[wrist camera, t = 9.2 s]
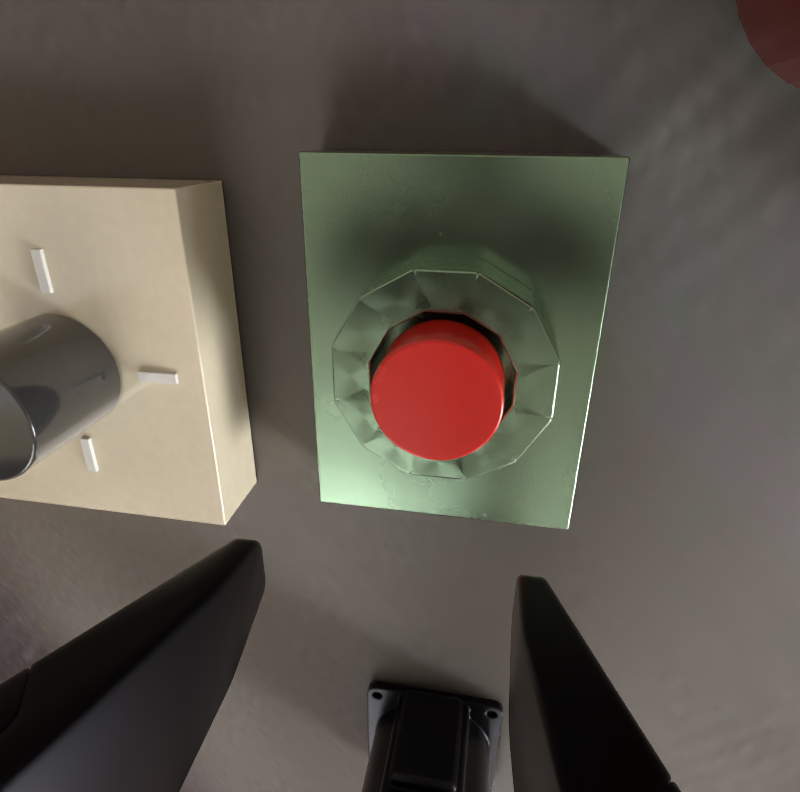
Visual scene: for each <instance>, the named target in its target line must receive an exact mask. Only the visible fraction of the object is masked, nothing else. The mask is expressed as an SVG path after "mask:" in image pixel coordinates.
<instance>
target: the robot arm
mask: <svg viewBox="0 0 800 792" xmlns="http://www.w3.org/2000/svg"><path fill="white" fill-rule="evenodd" d="M264 588H265V572H264V564H263V555H262V548H261V545H260V543H259V542H257V541H254V540H246V539H234V540H232V541H230V542H229V543H227V544H225V545H224V546H222V547H221V548H219V549H217V550H216V551H214V552H213V553H211V554H209V555H208V556H206V557H205V558H203V559H201V560H200V561H198V562H197V563H195V564H193V565H192V566H190V567H189V568H187V569H185V570H184V571H182V572H180V573H179V574H177V575H176V576H174V577H172V578H171V579H169V580H168V581H166V582H164V583H163V584H161V585H160V586H158V587H156V588H155V589H153V590H152V591H150V592H148V593H147V594H145V595H144V596H142V597H140V598H139V599H137V600H135V601H134V602H132V603H131V604H129V605H127V606H126V607H124V608H123V609H121V610H119V611H118V612H116V613H115V614H113V615H111V616H110V617H108V618H107V619H105V620H103V621H102V622H100V623H99V624H97V625H95V626H94V627H92V628H90V629H89V630H87V631H86V632H84V633H82V634H81V635H79V636H78V637H76V638H74V639H73V640H71V641H70V642H68V643H66V644H65V645H63V646H62V647H60V648H58V649H57V650H55V651H54V652H52V653H50V654H49V655H47V656H45V657H44V658H42V659H41V660H39V661H37V662H36V663H34V664H33V665H32V666H31V669H28V668H27V669H24V670H23V671H21V672H19V673H18V674H16V675H15V676H13V677H11V678H10V679H8V680H7V681H5V682H3V683H2V684H0V792H179V791H180V789H181V787H182V784H183V782H184V780H185V778H186V776H187V774H188V772H189V770H190V768H191V766H192V764H193V762H194V759H195V757H196V755H197V753H198V751H199V749H200V747H201V745H202V743H203V741H204V739H205V737H206V734H207V732H208V730H209V728H210V726H211V724H212V722H213V720H214V718H215V716H216V714H217V712H218V709H219V707H220V705H221V703H222V701H223V699H224V697H225V695H226V693H227V690H228V688H229V686H230V684H231V681H232V679H233V676H234V674H235V671H236V669H237V666H238V663H239V660H240V658H241V655H242V652H243V649H244V646H245V644H246V641H247V638H248V635H249V632H250V630H251V627H252V624H253V621H254V618H255V615H256V613H257V610H258V607H259V604H260V601H261V599H262V596H263V593H264ZM367 705H368V749H369V762H368V766H367V771H366V775H365V780H364V784H363V789H362V792H491V791H492V790H493V788H494V780H495V772H496V764H497V756H498V749H499V741H500V733H501V725H502V717H503V707H502V705H501V704H500V703H499V702H498V701H495V700H490V699H484V698H478V697H472V696H466V695H460V694H453V693H447V692H441V691H435V690H429V689H423V688H417V687H410V686H404V685H398V684H392V683H386V682H380V681H374V682H372V683H371V684H370V685H369V689H368V693H367ZM509 736H510V750H511V762H512V774H513V785H514V792H681V791H680V789H679V788H678V786H677V785H676V783H674V782H670V781H671V776H670V774H669V773H668V771H667V769H666V768H665V766H664V765H663V763H662V762H661V760H660V758H659V757H658V755H657V754H656V752H655V751H654V749H653V747H652V746H651V744H650V743H649V741H648V740H647V738H646V736H645V735H644V733H643V732H642V730H641V729H640V727H639V725H638V724H637V722H636V721H635V719H634V718H633V716H632V714H631V713H630V711H629V710H628V708H627V707H626V705H625V703H624V702H623V700H622V699H621V697H620V696H619V694H618V692H617V691H616V689H615V688H614V686H613V685H612V683H611V681H610V680H609V678H608V677H607V675H606V673H605V672H604V670H603V669H602V667H601V666H600V664H599V662H598V661H597V659H596V658H595V656H594V655H593V653H592V651H591V650H590V648H589V647H588V645H587V644H586V642H585V640H584V639H583V637H582V636H581V634H580V633H579V631H578V629H577V628H576V626H575V625H574V623H573V622H572V620H571V618H570V617H569V615H568V614H567V612H566V611H565V609H564V607H563V606H562V604H561V603H560V601H559V600H558V598H557V596H556V595H555V593H554V592H553V590H552V589H551V587H550V585H549V584H548V582H547V581H546V580H545V579H544V578H542V577H536V576H528V575H520V576H518V578H517V582H516V589H515V597H514V605H513V613H512V625H511V656H510V689H509Z"/></svg>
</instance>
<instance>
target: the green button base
mask: <svg viewBox="0 0 800 792" xmlns="http://www.w3.org/2000/svg"><path fill="white" fill-rule="evenodd" d="M299 162H300V179H301V195H302V211H303V228H304V244H305V260H306V277H307V293H308V310H309V326H310V342H311V359H312V375H313V391H314V408H315V424H316V441H317V457H318V473H319V490H320V501H322V502H330V503H339V504H348V505H357V506H365V507H374V508H383V509H392V510H400V511H409V512H418V513H427V514H435V515H444V516H453V517H462V518H470V519H479V520H488V521H497V522H505V523H514V524H523V525H532V526H540V527H549V528H558V529H568V528H569V522H570V516H571V510H572V504H573V498H574V492H575V486H576V480H577V474H578V468H579V462H580V456H581V450H582V444H583V438H584V432H585V426H586V420H587V414H588V408H589V402H590V396H591V390H592V384H593V378H594V372H595V366H596V360H597V354H598V348H599V342H600V336H601V330H602V324H603V318H604V312H605V306H606V300H607V294H608V288H609V282H610V276H611V270H612V264H613V258H614V252H615V246H616V240H617V234H618V228H619V222H620V216H621V210H622V204H623V198H624V192H625V186H626V180H627V174H628V168H629V162H630V157H626V156H622V155H617V154H572V153H506V152H440V151H374V150H314V151H303V152H299ZM431 320H450V321H455V322H459V323H463V324H465V325H468V326H470V327H472V328H473V329H475V330H477V331H478V332H480V333H481V334H482V335H484V336H485V337H486V338H487V339H488V340H489V341H490V342H491V344H492V345H493V346H494V347H495V349H496V351H497V352H498V354H499V356H500V359H501V361H502V364H503V368H504V375H505V383H504V410H503V416H502V419H501V422H500V424H499V426H498V428H497V430H496V432H495V433H494V434H493V436H492V437H491V438H490V439H489V440H488V441H487V443H485V444H484V445H483V446H482V447H480V448H479V449H477V450H476V451H474V452H472V453H470V454H468V455H466V456H463V457H460V458H456V459H451V460H430V459H424V458H421V457H417V456H415V455H412V454H410V453H408V452H406V451H404V450H402V449H401V448H399V447H398V446H396V445H395V444H394V443H393V442H392V441H390V440H389V439H388V438H387V436H386V435H385V434H384V433H383V432H382V430H381V429H380V427H379V425H378V424H377V422H376V420H375V417H374V415H373V412H372V407H371V401H370V389H371V384H372V380H373V377H374V374H375V372H376V370H377V368H378V366H379V365H380V363H381V361H382V359H383V357H384V356H385V354H386V352H387V350H388V349H389V347H390V345H391V344H392V343H393V341H394V340H395V339H396V338H397V337H398V336H399V335H400V334H401V333H403V332H404V331H405V330H407V329H408V328H410V327H412V326H414V325H417V324H419V323H422V322H426V321H431Z"/></svg>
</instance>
